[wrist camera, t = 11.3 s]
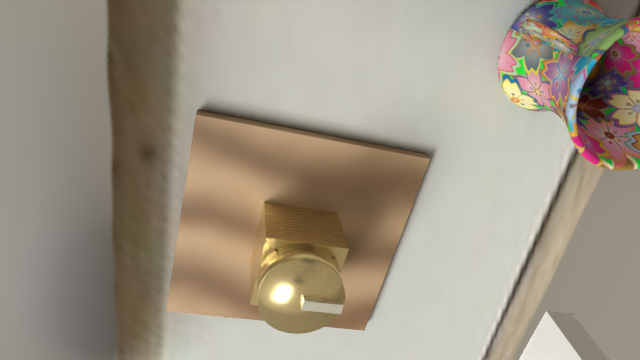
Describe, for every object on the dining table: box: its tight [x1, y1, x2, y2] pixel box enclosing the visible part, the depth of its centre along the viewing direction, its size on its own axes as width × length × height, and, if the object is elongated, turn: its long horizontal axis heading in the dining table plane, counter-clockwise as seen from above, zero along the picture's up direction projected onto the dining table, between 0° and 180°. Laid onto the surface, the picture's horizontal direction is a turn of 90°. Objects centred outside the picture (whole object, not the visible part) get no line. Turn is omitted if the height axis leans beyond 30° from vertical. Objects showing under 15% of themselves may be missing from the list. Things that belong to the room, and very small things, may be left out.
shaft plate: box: [166, 110, 430, 330], centre depth 38 cm, size 18×18×5 cm
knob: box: [250, 202, 349, 333], centre depth 36 cm, size 6×6×8 cm
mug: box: [498, 0, 640, 170], centre depth 31 cm, size 12×9×11 cm
